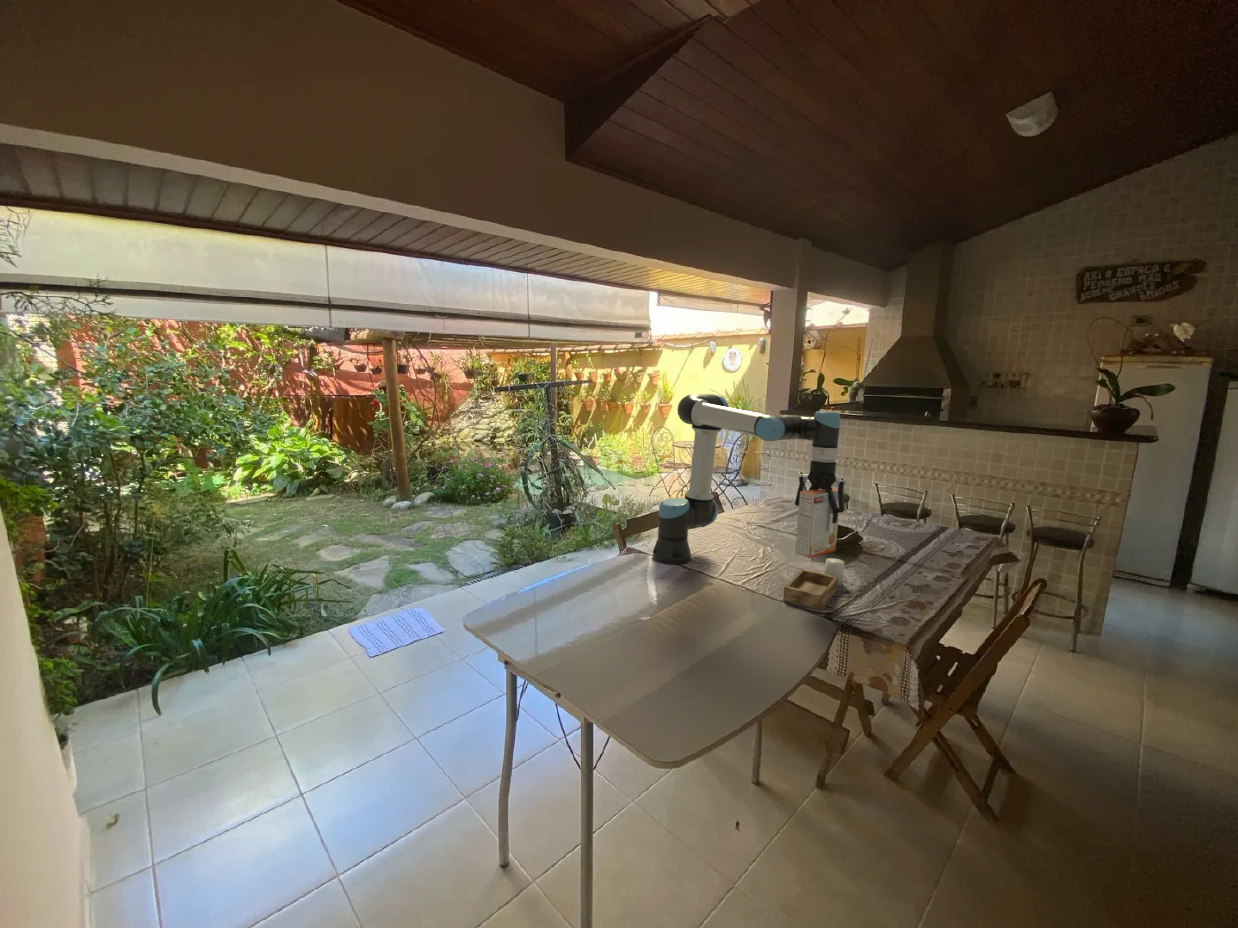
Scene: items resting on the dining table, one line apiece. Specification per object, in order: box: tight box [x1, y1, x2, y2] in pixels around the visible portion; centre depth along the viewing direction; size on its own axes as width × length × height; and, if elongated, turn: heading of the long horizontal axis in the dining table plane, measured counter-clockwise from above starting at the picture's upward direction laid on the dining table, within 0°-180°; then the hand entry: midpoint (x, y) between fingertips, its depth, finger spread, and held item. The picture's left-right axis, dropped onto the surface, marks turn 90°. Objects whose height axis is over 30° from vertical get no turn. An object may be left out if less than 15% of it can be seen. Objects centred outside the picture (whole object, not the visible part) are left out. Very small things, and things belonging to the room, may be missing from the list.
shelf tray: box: [782, 568, 838, 611], centre depth 161 cm, size 12×20×4 cm, turn 144°
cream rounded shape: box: [824, 557, 845, 587], centre depth 171 cm, size 6×6×8 cm
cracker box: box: [794, 487, 840, 559], centre depth 157 cm, size 14×6×21 cm, turn 123°
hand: (817, 529), depth 157 cm, fingers closed on cracker box, 7 cm apart
